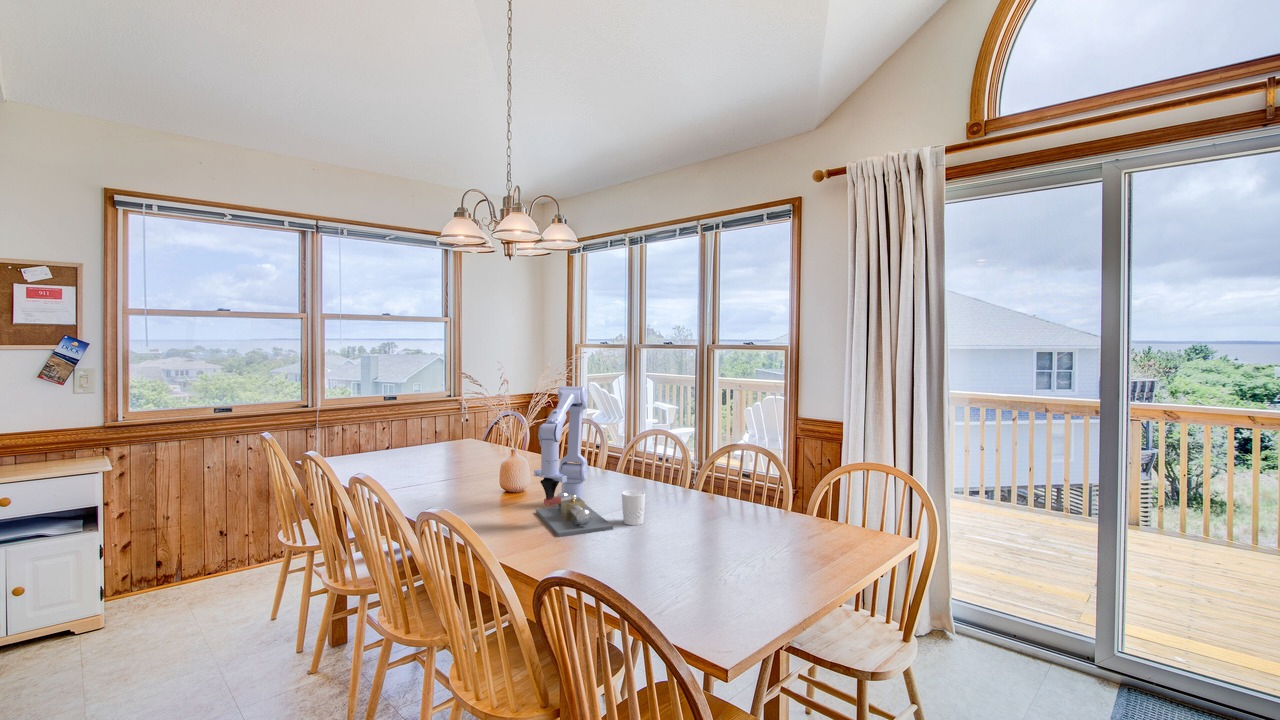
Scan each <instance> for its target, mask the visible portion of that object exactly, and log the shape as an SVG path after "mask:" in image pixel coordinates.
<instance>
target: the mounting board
mask: <svg viewBox="0 0 1280 720" xmlns="http://www.w3.org/2000/svg"><path fill="white" fill-rule="evenodd" d="M585 509H586V510H588V511H589V512H590V513H591V515H592V519H591V521H590V523H589V524H588V525H580V526H574V525H573V524H572V520H571V521H566V520H565V519H564V518H563V517H562V516H561V512H560V511H559V506H554V507H546V508H537V509H536V510H535V513H536V515H538V516H539V518H541V519H540V520H542V521H543V522H544V523H545V524H546V525H547V526H548V527H549V528H550V530H551V531H552V533H554V534H555V535H556V536H557V537H558V538H562V537H568V536H575V535H581V534H590V533H598V532H605V531H611V530H614V525H613V524H611V523H610V522H609V521H607V520H606V519H605V518H604V517H602V516H601V515H600V514H598V512H596V511H595V510H594V509H592V508H591V507H589V506H588V504H586V503H585Z"/></svg>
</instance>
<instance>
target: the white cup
mask: <svg viewBox="0 0 1280 720" xmlns="http://www.w3.org/2000/svg"><path fill="white" fill-rule="evenodd" d="M621 503H622V504H621V507H622V516H623V517H622V518H623V519H622V520H623V524H625V525H627V526H639V525H640V526H641V525H642V524H644V520H645V519H644V517H645V509H646V507H645V506H646V491H644V490H640V489H628V490H624V491H622V492H621Z"/></svg>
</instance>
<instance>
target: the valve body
mask: <svg viewBox="0 0 1280 720" xmlns="http://www.w3.org/2000/svg"><path fill="white" fill-rule="evenodd" d="M556 496H559V497H563V496H568V494H567V493H565V492H562V491H561V492H559V493H557V495H556ZM585 504H586V502H585V501H584V499H583V500H582V499H580V498H579V497H578V498H577V499H569V500H565V501H561V503H558V504H557V505H558V507H559V511H560V512H561V516H562V517H563V518H564V519H565V520H566V521H571V520H572V524H573V525H574V526H580V525H588V524H589V523H590V521H591V519H592V515H591V513H590V512H589V511H588V510H586V509H585Z"/></svg>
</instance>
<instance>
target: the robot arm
mask: <svg viewBox="0 0 1280 720" xmlns="http://www.w3.org/2000/svg"><path fill="white" fill-rule="evenodd" d="M557 399H558V403H557V405H556V408H554V409H552V410H551V411H550V413H549V415H548V417H547V418H546V421H545V422H544V423H542V424H541V425H539V428H538V434H537V436H538V440H539V446H540V448H541V451H540V456H541V461H540V462H541V465H540V467H541V468H540V469H535V470H533V476H534V477H539V478H543V479H541V480H540V484H541V486H542V488H543V490H544V493H545V499H546V498H550V497H555V492H556V489H557V487H558V485H559V483H561V492H565V493H567V494H568V495H569V494H576V495H577V498H578V497H579V498H580V499H582V500H583V501H584V481H586V480H587V478H588V476H589V475H588V474H589V467H588V460H587V458H586V457H584V456H583V455H582V454H581V449H582V448H581V447H582V446H581V445H582V428H583V412H584V410H586V409H587V408H588V399H589V394H588V389H587V387H586V386H584V385H583V386H572V385H571V386H566V385H565V386H564V385H561V386H559V388H558V390H557ZM567 412H569V415H568V416H569V417H568V433H567V438H568V439H567V451H566V452H567V453H566V455H565V456H563V457H562V458H561V459H560V453H559V452H560V441H561V438H562V435H563V426H564V424H565V422H566V421H567Z"/></svg>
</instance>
